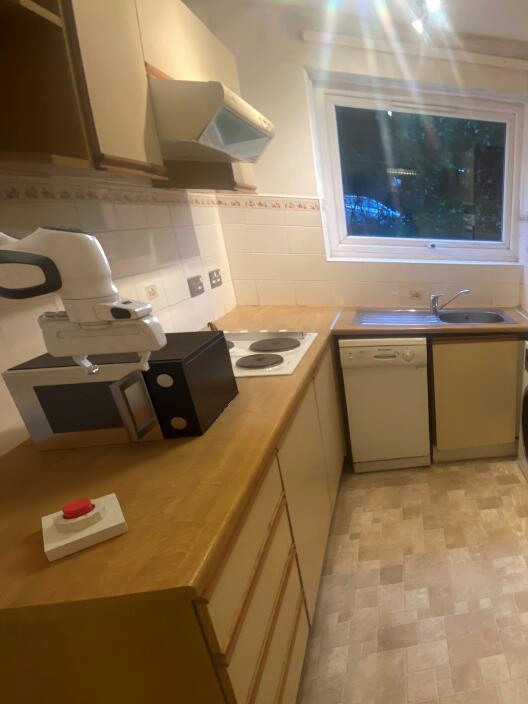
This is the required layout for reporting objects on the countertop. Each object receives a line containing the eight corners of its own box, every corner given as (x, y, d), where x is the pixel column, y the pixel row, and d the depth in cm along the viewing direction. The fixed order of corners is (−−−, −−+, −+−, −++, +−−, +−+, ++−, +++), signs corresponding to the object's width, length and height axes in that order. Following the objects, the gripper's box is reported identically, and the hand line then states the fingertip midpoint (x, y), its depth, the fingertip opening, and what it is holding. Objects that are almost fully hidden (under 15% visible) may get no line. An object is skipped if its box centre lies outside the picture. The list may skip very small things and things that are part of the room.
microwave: (201, 437, 108) (179, 361, 100) (36, 453, 100) (-3, 373, 93) (239, 393, 133) (223, 330, 126) (109, 403, 126) (83, 337, 118)
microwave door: (151, 451, 101) (123, 373, 94) (17, 465, 95) (-24, 383, 88) (167, 436, 108) (142, 362, 100) (42, 448, 102) (6, 370, 95)
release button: (64, 513, 76) (60, 504, 75) (92, 503, 78) (88, 495, 78) (66, 522, 73) (62, 514, 73) (94, 512, 76) (91, 504, 75)
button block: (46, 527, 78) (36, 509, 76) (118, 501, 84) (111, 484, 83) (49, 562, 70) (39, 543, 69) (129, 531, 77) (121, 513, 75)
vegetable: (236, 377, 145) (221, 319, 138) (237, 381, 142) (222, 321, 135) (220, 379, 143) (205, 320, 136) (221, 384, 140) (205, 323, 132)
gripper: (22, 315, 84) (51, 381, 89) (144, 310, 89) (164, 373, 94) (45, 308, 90) (71, 370, 95) (159, 304, 94) (178, 363, 100)
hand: (118, 372), depth 95 cm, fingers open, 8 cm apart
